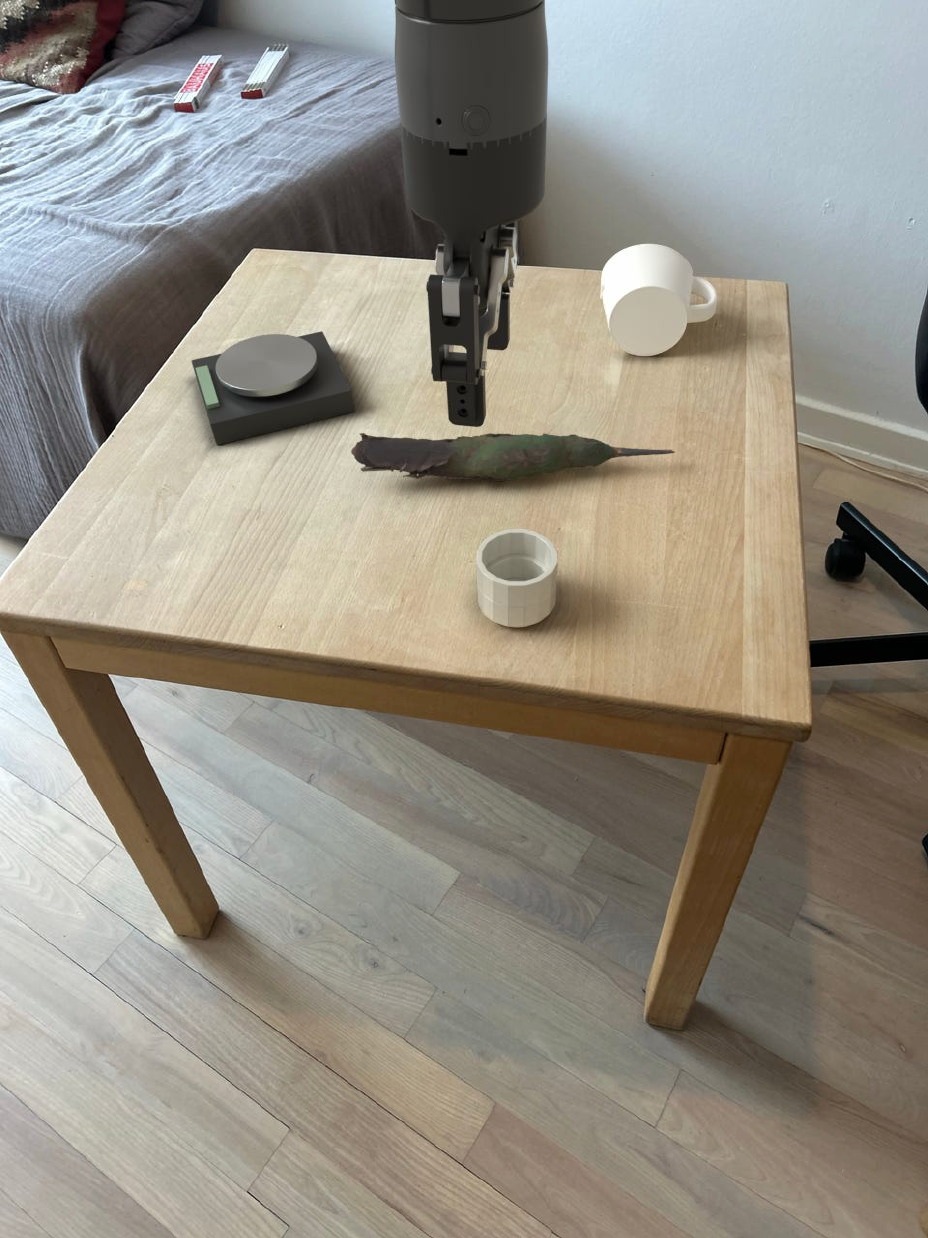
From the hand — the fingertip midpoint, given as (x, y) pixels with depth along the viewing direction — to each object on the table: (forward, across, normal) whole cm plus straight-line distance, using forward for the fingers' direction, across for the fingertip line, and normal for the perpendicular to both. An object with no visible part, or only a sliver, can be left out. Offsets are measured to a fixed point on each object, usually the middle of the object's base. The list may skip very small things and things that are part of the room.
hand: (480, 383), depth 57 cm
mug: (+20, -41, +11) cm, 46 cm away
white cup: (+20, +1, +3) cm, 20 cm away
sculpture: (+20, -15, 0) cm, 25 cm away
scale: (+19, -23, -27) cm, 40 cm away
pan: (+16, -23, -27) cm, 39 cm away
